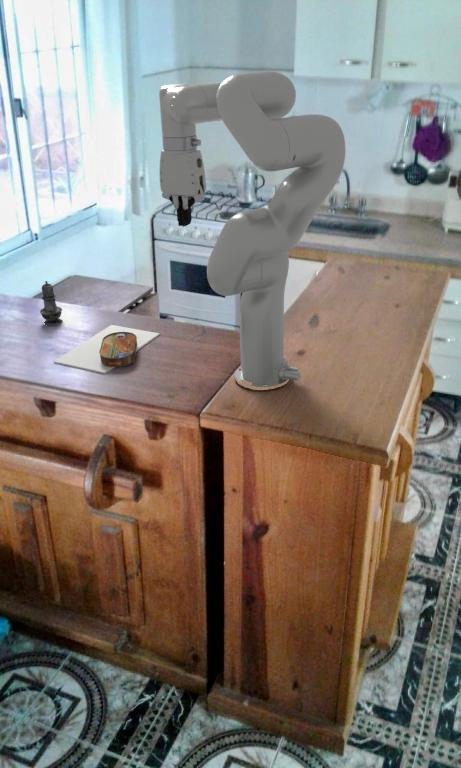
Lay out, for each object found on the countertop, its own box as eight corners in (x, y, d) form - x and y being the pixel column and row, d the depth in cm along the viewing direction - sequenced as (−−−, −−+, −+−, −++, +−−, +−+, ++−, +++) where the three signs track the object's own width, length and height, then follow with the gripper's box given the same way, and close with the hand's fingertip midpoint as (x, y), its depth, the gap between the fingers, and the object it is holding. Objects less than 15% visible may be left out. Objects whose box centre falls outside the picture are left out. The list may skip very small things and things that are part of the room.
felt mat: (159, 334, 183) (159, 333, 183) (105, 373, 164) (105, 372, 164) (111, 326, 189) (111, 324, 189) (53, 362, 170) (53, 361, 170)
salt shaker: (67, 323, 192) (60, 281, 186) (46, 328, 189) (39, 286, 184) (58, 316, 196) (52, 275, 191) (38, 322, 193) (31, 280, 188)
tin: (133, 357, 165) (96, 356, 164) (133, 369, 166) (97, 368, 166) (138, 330, 178) (104, 330, 178) (138, 342, 179) (105, 341, 179)
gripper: (216, 142, 159) (220, 223, 167) (159, 139, 165) (165, 218, 174) (200, 148, 153) (205, 231, 162) (142, 145, 159) (149, 225, 168)
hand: (184, 224), depth 168 cm, fingers closed
